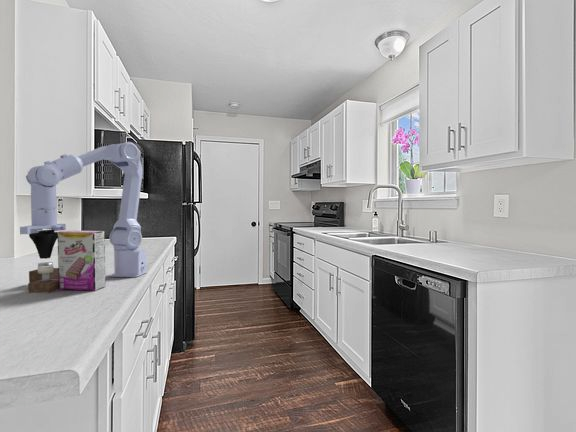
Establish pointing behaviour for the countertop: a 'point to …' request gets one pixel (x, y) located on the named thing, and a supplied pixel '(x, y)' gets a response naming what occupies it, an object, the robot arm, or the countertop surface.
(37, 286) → the low socket
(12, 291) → the countertop surface
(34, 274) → the tall socket
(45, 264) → the steel knob
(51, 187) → the robot arm
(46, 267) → the cream knob
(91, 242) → the candy bar box
